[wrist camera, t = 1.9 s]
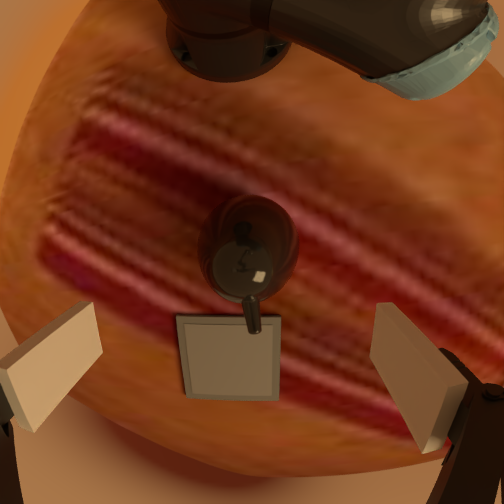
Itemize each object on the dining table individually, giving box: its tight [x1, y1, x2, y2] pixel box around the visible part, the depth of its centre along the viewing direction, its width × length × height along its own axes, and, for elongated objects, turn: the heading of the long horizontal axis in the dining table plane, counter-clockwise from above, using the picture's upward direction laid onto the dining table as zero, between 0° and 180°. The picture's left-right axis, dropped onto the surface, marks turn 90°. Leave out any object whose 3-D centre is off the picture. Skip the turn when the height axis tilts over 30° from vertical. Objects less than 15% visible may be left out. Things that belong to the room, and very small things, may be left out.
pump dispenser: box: [197, 195, 299, 335], centre depth 30 cm, size 10×10×15 cm
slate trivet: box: [176, 314, 281, 401], centre depth 40 cm, size 13×13×1 cm
